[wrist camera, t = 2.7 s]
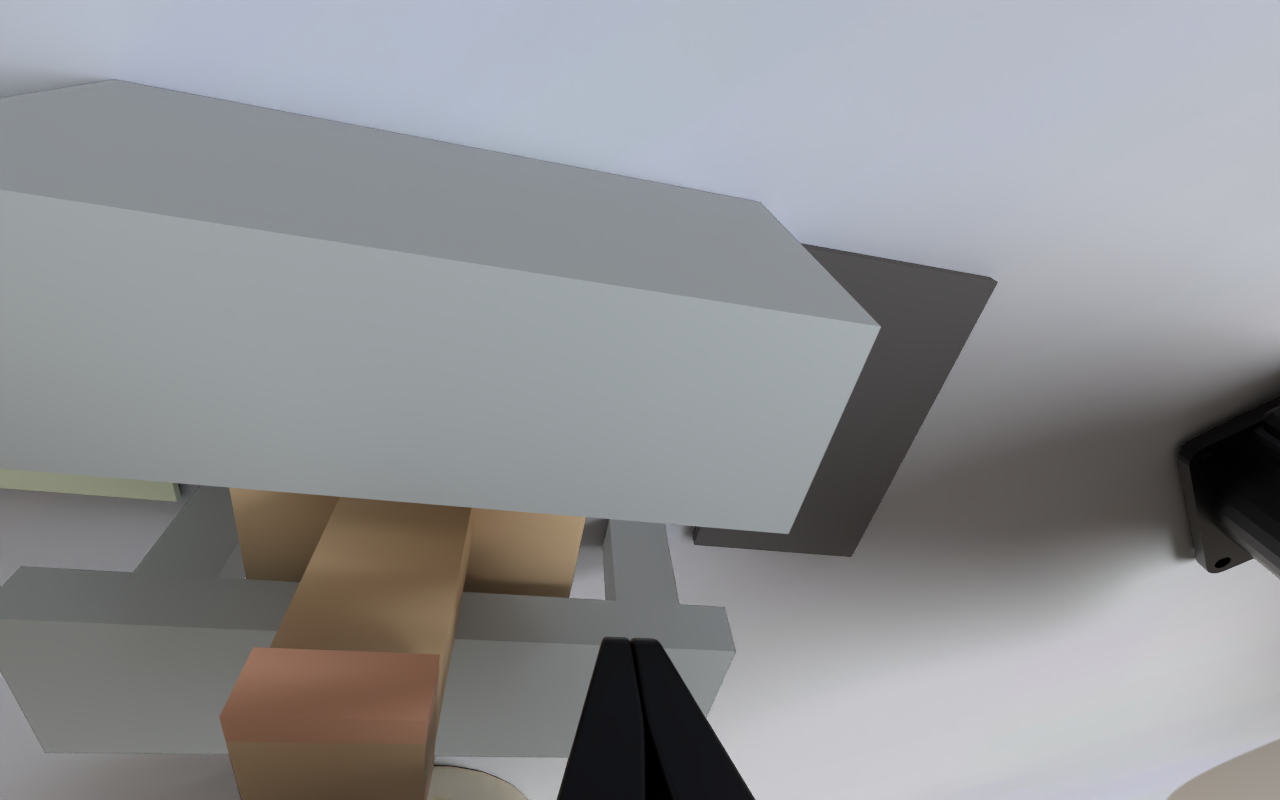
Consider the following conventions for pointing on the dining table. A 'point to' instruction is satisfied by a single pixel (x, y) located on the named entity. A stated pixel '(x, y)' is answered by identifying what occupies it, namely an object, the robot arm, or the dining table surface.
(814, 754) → the dining table surface
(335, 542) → the tan t-shaped block
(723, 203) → the tunnel
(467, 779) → the sugar bowl
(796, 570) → the dining table surface
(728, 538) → the mat
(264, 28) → the dining table surface
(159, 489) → the pad
